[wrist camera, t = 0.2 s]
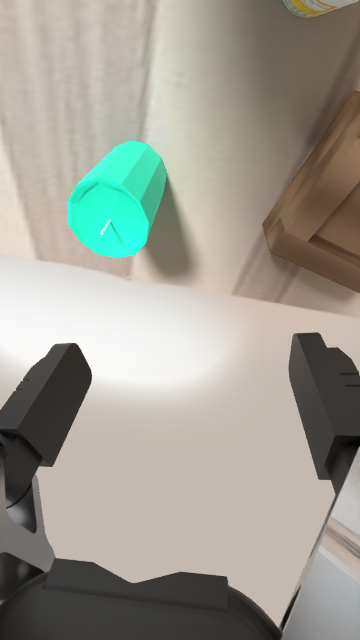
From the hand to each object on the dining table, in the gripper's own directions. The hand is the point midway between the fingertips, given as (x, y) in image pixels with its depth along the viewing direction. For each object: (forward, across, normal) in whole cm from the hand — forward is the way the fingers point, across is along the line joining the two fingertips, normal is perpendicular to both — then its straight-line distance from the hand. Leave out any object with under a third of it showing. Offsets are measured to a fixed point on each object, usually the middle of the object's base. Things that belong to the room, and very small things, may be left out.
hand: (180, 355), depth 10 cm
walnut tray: (+23, -15, +1) cm, 27 cm away
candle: (+22, +6, -3) cm, 23 cm away
